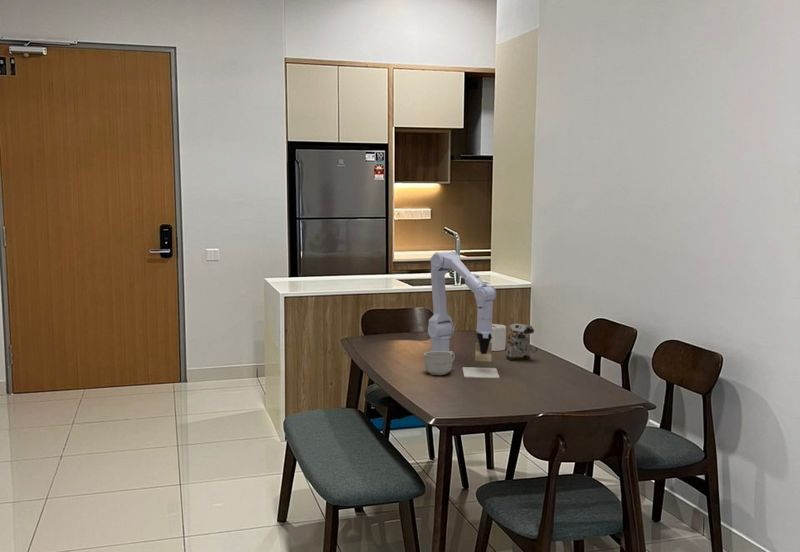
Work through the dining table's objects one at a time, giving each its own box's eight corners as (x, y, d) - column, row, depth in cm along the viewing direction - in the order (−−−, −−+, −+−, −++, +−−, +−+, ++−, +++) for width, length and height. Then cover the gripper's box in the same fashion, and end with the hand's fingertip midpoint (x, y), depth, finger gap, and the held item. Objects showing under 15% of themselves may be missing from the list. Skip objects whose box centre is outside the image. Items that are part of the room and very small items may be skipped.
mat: (462, 368, 299) (462, 367, 299) (495, 369, 299) (496, 368, 299) (464, 377, 285) (464, 376, 285) (499, 378, 285) (499, 377, 285)
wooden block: (475, 360, 294) (475, 342, 293) (490, 360, 294) (491, 342, 293) (475, 361, 293) (476, 343, 292) (491, 361, 292) (491, 343, 291)
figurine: (516, 364, 307) (518, 327, 305) (504, 357, 318) (505, 322, 316) (537, 363, 310) (538, 326, 308) (524, 356, 321) (525, 321, 319)
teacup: (433, 378, 283) (434, 357, 282) (417, 371, 292) (418, 351, 291) (464, 374, 290) (465, 353, 289) (448, 367, 299) (448, 347, 298)
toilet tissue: (499, 352, 328) (500, 329, 326) (473, 348, 334) (474, 326, 333) (509, 348, 337) (510, 325, 335) (484, 344, 343) (485, 322, 342)
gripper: (497, 321, 284) (495, 357, 286) (493, 314, 298) (492, 349, 300) (477, 321, 284) (476, 357, 286) (475, 314, 298) (474, 348, 300)
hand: (483, 353), depth 293 cm, fingers closed on wooden block, 1 cm apart
